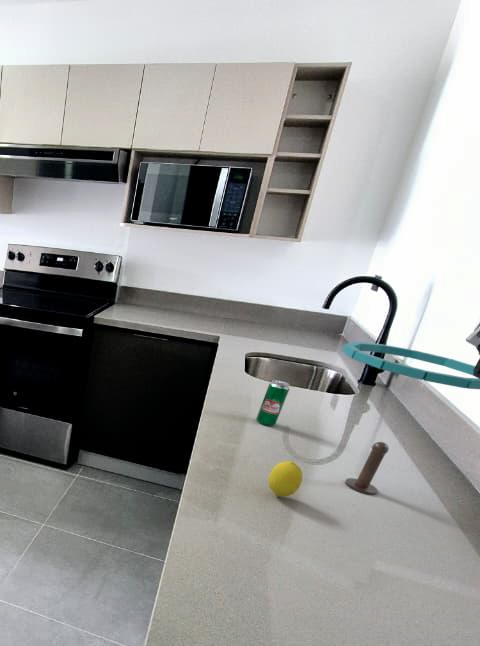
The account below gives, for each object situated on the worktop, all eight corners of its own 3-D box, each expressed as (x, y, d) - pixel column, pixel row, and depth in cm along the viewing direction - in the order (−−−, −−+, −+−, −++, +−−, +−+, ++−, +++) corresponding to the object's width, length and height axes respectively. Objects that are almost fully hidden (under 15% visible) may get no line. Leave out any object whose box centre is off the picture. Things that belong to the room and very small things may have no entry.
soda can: (254, 422, 139) (269, 381, 134) (257, 417, 143) (272, 378, 138) (273, 428, 136) (289, 387, 131) (276, 423, 140) (292, 383, 135)
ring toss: (371, 485, 111) (394, 441, 107) (380, 497, 106) (404, 451, 101) (341, 477, 113) (362, 433, 108) (349, 489, 107) (371, 444, 103)
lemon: (288, 507, 97) (304, 471, 93) (259, 494, 100) (273, 459, 97) (296, 498, 101) (311, 463, 97) (267, 486, 104) (281, 452, 100)
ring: (457, 365, 111) (461, 358, 110) (528, 400, 88) (533, 391, 87) (330, 342, 117) (332, 335, 116) (366, 369, 94) (370, 361, 94)
